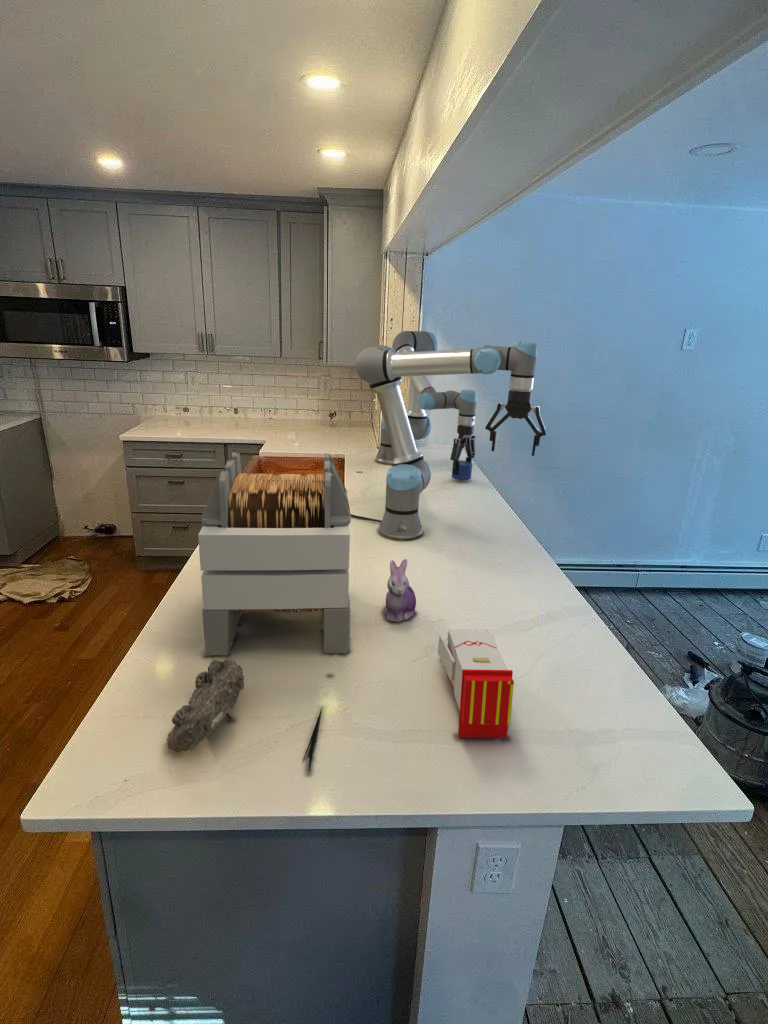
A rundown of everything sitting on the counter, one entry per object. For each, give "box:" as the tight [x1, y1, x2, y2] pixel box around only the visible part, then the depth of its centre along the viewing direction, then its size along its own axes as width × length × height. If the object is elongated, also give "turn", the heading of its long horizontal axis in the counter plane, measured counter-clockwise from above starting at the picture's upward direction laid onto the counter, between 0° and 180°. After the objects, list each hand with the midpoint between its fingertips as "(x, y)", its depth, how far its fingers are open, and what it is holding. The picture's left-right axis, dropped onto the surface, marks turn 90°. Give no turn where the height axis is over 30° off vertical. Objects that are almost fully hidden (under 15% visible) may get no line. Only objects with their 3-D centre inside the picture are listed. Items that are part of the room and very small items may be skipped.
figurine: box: [384, 558, 417, 623], centre depth 145 cm, size 9×10×15 cm
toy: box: [437, 628, 515, 738], centre depth 117 cm, size 12×13×30 cm
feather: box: [301, 673, 332, 771], centre depth 108 cm, size 2×28×2 cm
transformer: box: [197, 451, 352, 657], centre depth 136 cm, size 34×33×41 cm
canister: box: [451, 459, 473, 482], centre depth 264 cm, size 9×9×7 cm
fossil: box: [166, 658, 245, 754], centre depth 106 cm, size 22×10×15 cm
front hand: (512, 452), depth 194 cm, fingers open, 13 cm apart
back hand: (461, 472), depth 264 cm, fingers closed on canister, 9 cm apart
